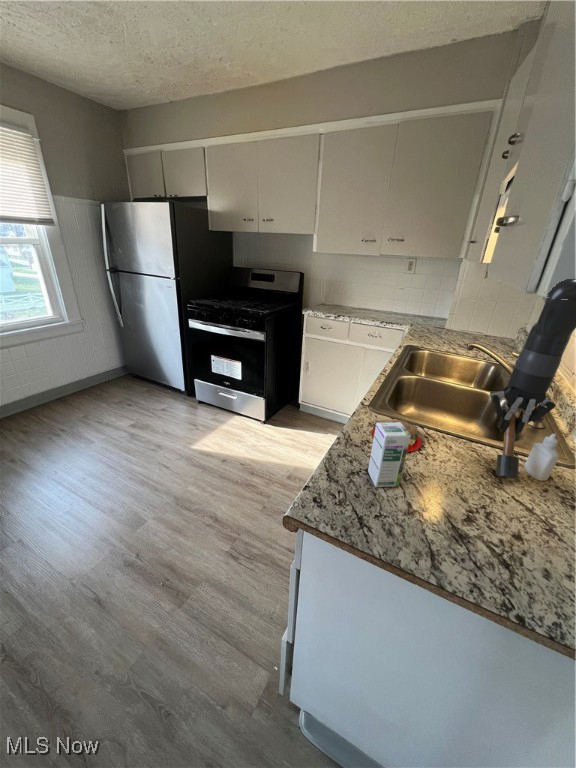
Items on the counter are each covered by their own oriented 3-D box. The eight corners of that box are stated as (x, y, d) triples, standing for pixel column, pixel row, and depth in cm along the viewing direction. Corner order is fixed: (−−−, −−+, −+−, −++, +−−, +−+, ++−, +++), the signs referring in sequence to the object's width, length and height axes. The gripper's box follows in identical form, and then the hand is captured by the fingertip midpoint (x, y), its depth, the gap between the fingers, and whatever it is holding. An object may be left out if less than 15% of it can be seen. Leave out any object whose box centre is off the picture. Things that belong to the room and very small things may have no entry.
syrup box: (375, 488, 72) (386, 436, 66) (367, 470, 78) (376, 421, 71) (398, 487, 73) (412, 435, 67) (389, 469, 78) (400, 420, 72)
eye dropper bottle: (526, 477, 78) (545, 437, 72) (522, 464, 82) (540, 426, 77) (547, 483, 76) (569, 443, 71) (542, 470, 81) (562, 431, 75)
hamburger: (378, 419, 100) (382, 403, 97) (425, 433, 93) (430, 416, 91) (365, 441, 88) (368, 424, 86) (417, 459, 82) (422, 440, 80)
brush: (512, 477, 77) (516, 418, 80) (521, 479, 73) (525, 416, 75) (492, 474, 78) (497, 415, 81) (500, 475, 74) (505, 413, 76)
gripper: (506, 370, 69) (481, 435, 77) (579, 379, 66) (546, 445, 74) (495, 358, 75) (473, 419, 83) (562, 366, 72) (533, 428, 80)
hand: (508, 431), depth 78 cm, fingers closed on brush, 2 cm apart
